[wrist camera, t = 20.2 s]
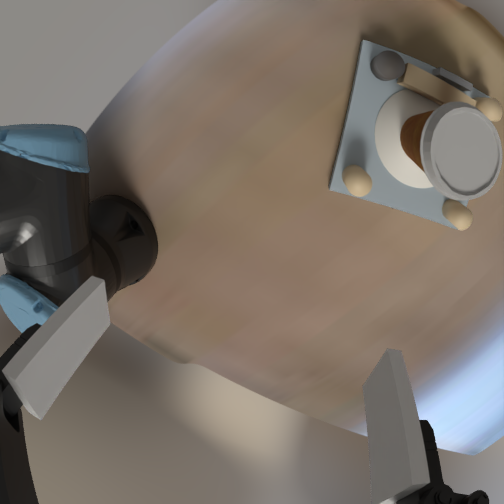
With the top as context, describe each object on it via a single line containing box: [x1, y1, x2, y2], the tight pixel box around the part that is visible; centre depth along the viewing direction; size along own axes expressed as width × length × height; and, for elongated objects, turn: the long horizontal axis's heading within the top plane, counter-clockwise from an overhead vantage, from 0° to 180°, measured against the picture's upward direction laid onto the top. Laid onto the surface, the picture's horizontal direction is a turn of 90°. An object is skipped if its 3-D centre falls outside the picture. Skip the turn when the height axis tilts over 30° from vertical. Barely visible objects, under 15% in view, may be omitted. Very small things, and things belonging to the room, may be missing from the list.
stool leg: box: [370, 50, 477, 106], centre depth 26 cm, size 14×3×3 cm, turn 75°
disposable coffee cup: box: [400, 102, 502, 201], centre depth 25 cm, size 10×10×12 cm
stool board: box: [329, 40, 502, 230], centre depth 29 cm, size 20×20×6 cm
